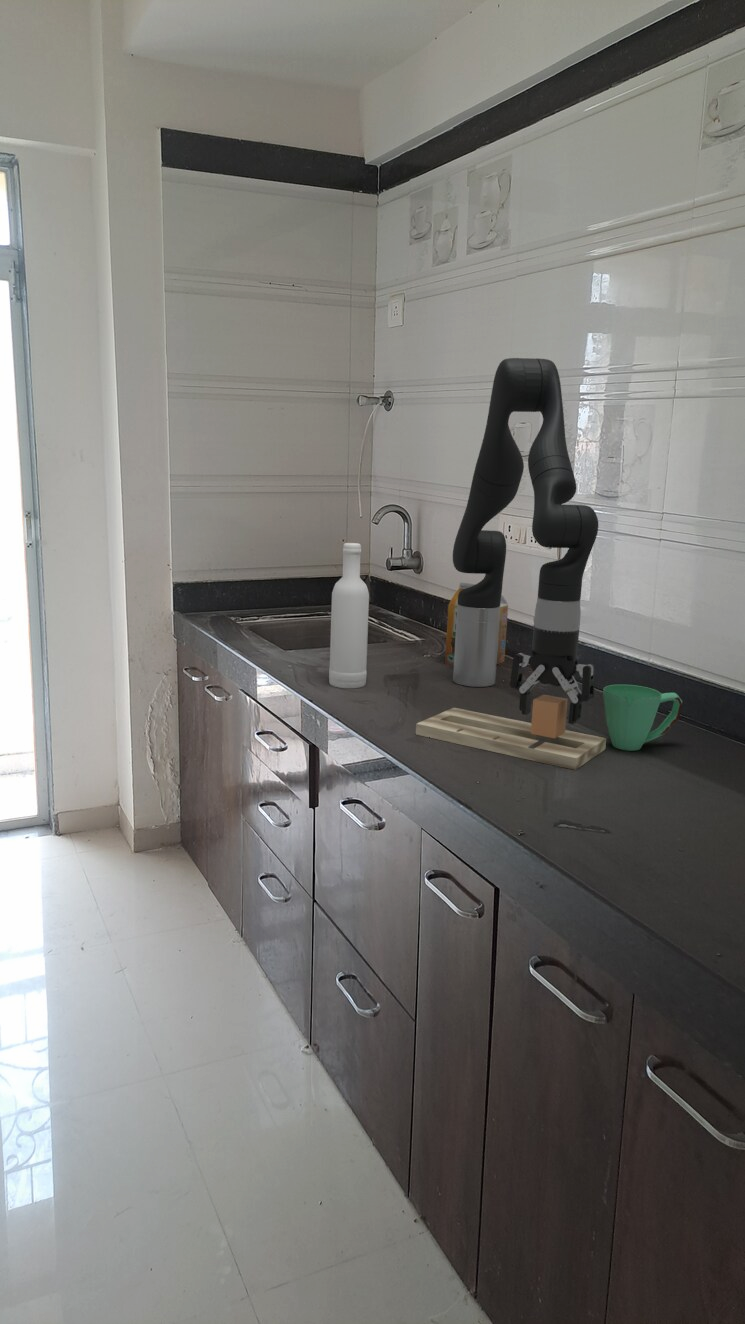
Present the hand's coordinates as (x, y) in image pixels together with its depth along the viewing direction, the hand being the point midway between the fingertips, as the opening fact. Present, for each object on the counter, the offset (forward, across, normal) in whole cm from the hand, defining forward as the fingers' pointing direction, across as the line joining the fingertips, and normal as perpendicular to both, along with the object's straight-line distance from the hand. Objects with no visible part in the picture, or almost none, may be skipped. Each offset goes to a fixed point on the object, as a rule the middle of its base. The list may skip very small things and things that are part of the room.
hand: (548, 718), depth 162 cm
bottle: (+6, +52, -15) cm, 54 cm away
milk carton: (+6, +41, -53) cm, 67 cm away
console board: (+6, +7, 0) cm, 9 cm away
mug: (+6, -12, -13) cm, 19 cm away
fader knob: (+6, 0, 0) cm, 6 cm away
